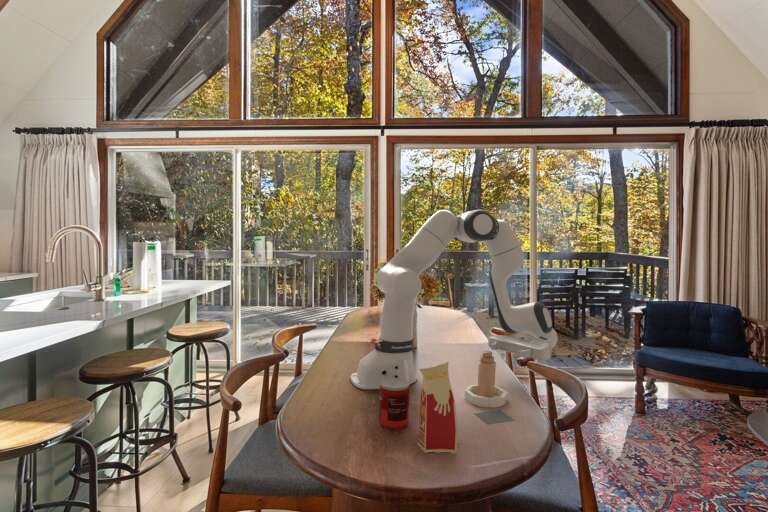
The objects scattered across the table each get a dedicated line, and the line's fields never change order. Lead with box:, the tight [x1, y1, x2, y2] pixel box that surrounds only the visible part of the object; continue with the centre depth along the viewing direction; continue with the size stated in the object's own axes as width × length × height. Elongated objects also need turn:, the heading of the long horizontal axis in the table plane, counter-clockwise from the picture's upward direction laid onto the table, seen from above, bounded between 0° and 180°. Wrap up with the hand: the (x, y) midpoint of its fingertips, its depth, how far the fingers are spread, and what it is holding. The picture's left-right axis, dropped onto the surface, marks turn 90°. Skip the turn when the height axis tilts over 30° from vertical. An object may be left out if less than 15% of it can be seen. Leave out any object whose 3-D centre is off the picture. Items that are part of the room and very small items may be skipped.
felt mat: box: [473, 409, 516, 425], centre depth 118 cm, size 8×7×1 cm
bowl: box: [464, 383, 508, 408], centre depth 130 cm, size 12×12×3 cm
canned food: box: [378, 378, 410, 431], centre depth 113 cm, size 8×8×11 cm
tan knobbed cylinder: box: [477, 350, 497, 398], centre depth 130 cm, size 5×5×14 cm
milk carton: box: [417, 361, 458, 454], centre depth 102 cm, size 9×9×20 cm
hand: (505, 350), depth 138 cm, fingers open, 8 cm apart
